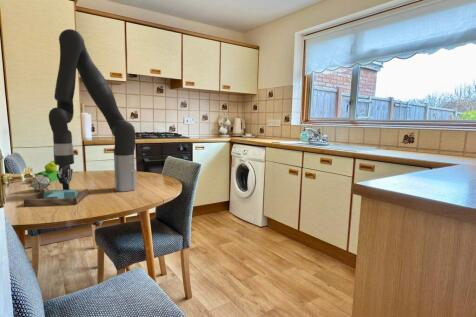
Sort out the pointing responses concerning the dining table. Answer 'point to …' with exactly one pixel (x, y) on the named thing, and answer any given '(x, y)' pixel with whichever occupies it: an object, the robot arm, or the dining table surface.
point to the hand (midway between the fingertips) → (66, 191)
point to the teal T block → (60, 194)
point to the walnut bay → (53, 200)
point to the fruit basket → (49, 171)
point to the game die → (40, 182)
